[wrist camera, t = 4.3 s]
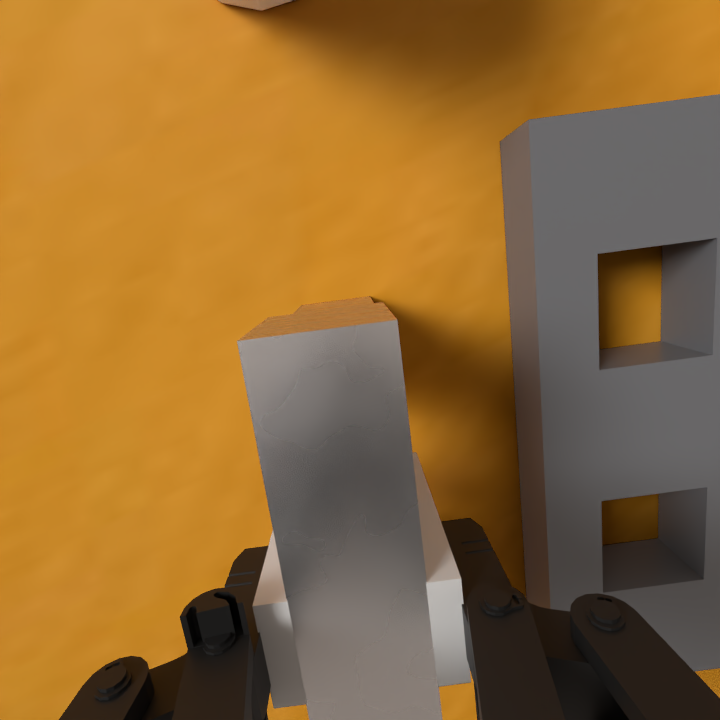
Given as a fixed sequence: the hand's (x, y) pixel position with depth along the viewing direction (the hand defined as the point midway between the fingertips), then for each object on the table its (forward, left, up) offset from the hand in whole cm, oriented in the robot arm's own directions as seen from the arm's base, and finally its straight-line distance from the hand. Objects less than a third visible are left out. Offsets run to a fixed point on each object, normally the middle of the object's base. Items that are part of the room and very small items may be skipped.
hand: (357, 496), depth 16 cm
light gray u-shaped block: (0, 0, -5) cm, 5 cm away
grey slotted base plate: (+12, 0, -5) cm, 13 cm away
